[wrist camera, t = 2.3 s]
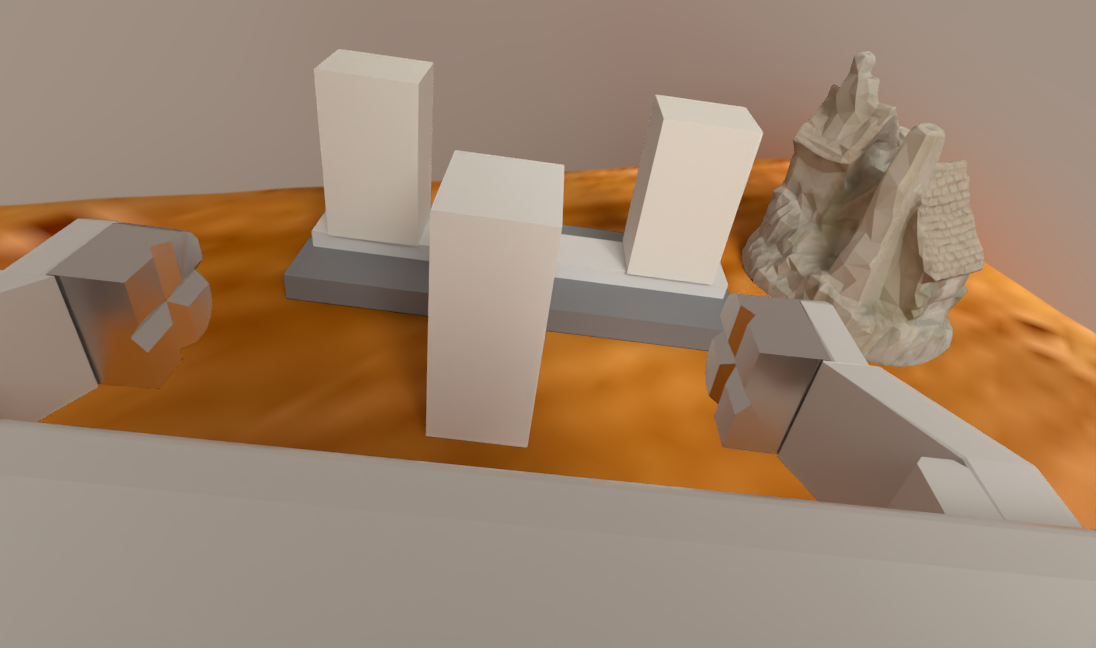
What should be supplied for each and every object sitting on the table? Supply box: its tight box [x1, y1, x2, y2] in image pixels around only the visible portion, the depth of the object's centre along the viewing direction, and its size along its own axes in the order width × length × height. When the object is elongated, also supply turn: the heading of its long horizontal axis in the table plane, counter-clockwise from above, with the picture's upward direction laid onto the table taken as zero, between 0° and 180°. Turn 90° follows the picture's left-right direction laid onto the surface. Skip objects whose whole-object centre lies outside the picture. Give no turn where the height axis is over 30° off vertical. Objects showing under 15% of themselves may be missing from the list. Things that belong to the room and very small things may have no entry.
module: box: [426, 150, 564, 448], centre depth 27 cm, size 4×6×11 cm
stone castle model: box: [742, 51, 985, 367], centre depth 40 cm, size 16×16×15 cm
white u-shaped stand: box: [283, 49, 763, 351], centre depth 36 cm, size 25×10×12 cm, turn 88°
